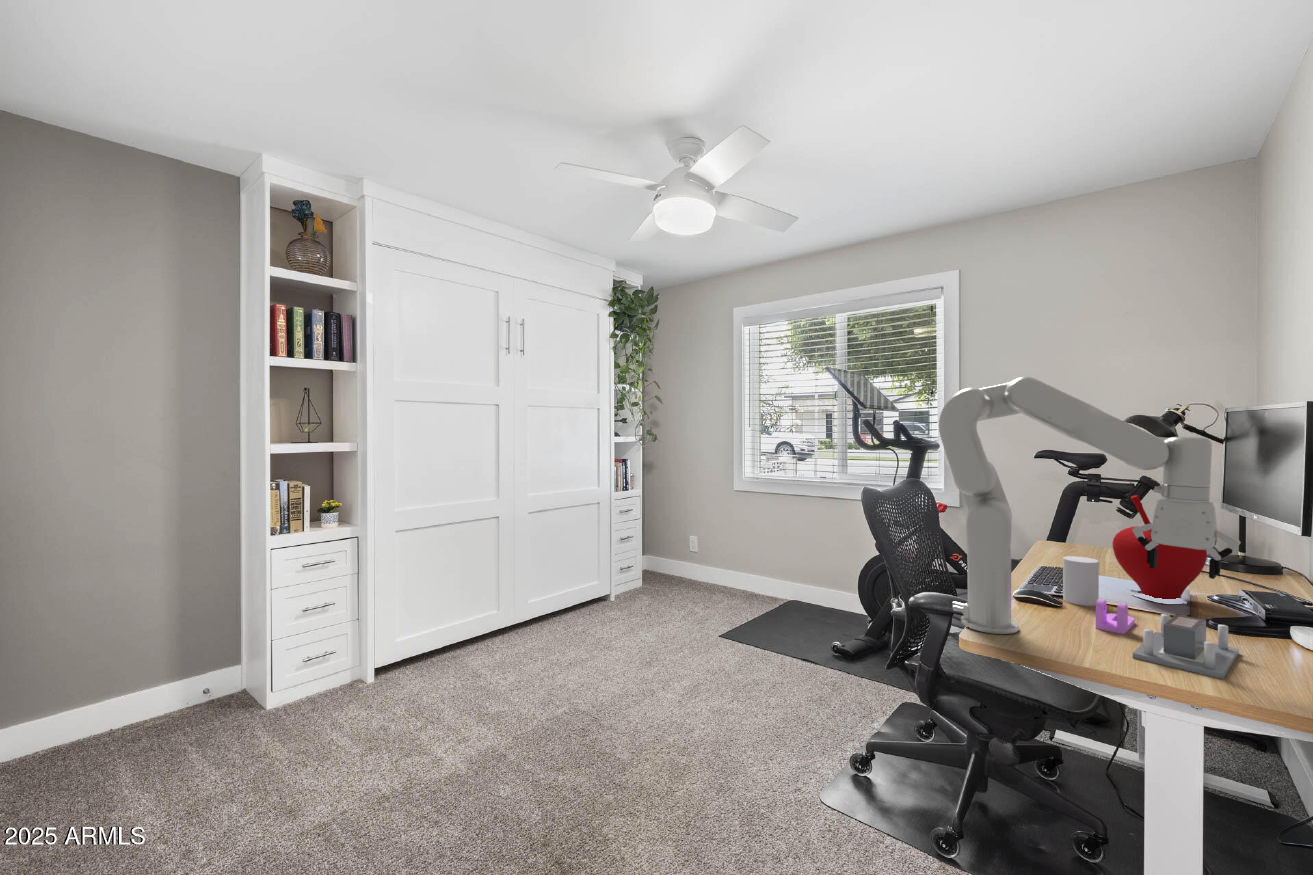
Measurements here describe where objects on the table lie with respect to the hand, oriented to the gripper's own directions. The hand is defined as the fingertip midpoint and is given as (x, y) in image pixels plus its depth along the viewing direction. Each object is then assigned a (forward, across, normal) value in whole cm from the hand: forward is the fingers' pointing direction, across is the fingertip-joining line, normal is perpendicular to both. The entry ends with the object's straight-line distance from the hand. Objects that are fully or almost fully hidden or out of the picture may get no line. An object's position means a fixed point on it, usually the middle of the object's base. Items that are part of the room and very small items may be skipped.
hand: (1182, 572), depth 126 cm
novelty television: (+18, -12, +48) cm, 53 cm away
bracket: (+19, -14, +13) cm, 27 cm away
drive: (+17, +1, 0) cm, 17 cm away
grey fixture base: (+18, +1, 0) cm, 18 cm away
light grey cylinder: (+19, -26, +29) cm, 43 cm away
